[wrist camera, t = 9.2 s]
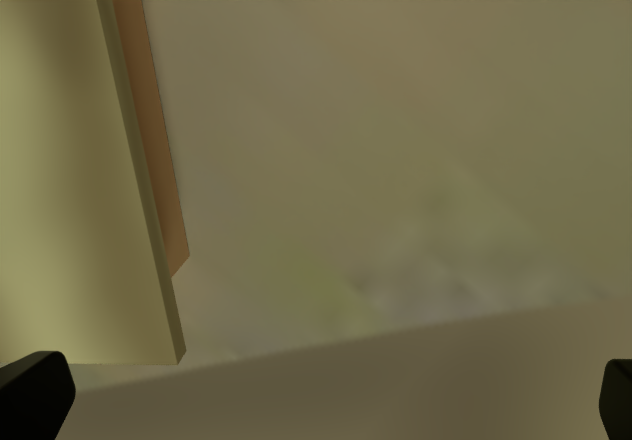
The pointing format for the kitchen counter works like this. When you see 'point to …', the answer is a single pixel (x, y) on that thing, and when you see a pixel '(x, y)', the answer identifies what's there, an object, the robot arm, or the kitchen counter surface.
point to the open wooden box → (152, 128)
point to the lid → (77, 195)
